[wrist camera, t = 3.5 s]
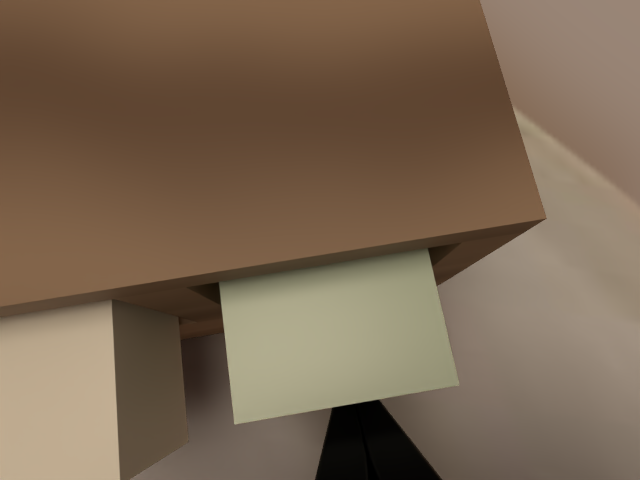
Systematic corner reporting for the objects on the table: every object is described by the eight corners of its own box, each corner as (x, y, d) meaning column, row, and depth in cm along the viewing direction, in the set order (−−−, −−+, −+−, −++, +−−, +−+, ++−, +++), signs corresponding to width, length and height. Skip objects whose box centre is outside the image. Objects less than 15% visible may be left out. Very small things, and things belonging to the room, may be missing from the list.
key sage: (414, 375, 12) (459, 385, 8) (263, 402, 12) (234, 424, 8) (370, 167, 13) (390, 89, 9) (236, 188, 13) (200, 118, 9)
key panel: (413, 300, 17) (545, 218, 7) (-90, 384, 17) (-760, 429, 6) (371, 109, 19) (427, -170, 9) (-77, 176, 19) (-562, -45, 8)
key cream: (188, 441, 11) (120, 485, 8) (30, 469, 11) (-124, 528, 7) (170, 219, 13) (105, 160, 9) (29, 241, 13) (-98, 191, 9)
